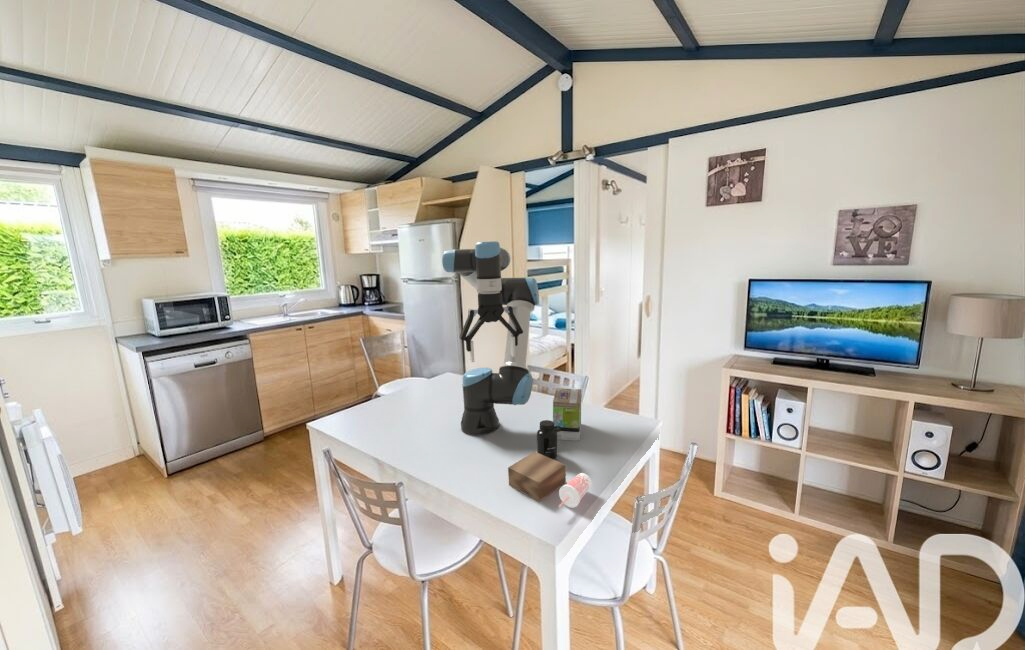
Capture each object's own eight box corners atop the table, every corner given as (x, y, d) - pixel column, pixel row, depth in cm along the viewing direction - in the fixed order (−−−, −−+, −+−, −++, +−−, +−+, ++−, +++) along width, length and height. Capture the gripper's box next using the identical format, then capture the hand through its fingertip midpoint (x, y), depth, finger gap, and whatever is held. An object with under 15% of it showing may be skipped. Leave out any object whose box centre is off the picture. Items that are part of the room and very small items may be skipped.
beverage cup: (572, 469, 114) (547, 493, 103) (591, 471, 110) (567, 497, 99) (576, 489, 114) (551, 515, 104) (595, 492, 111) (571, 520, 100)
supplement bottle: (552, 463, 127) (551, 429, 125) (533, 458, 131) (532, 425, 129) (561, 454, 133) (560, 421, 131) (543, 449, 137) (542, 417, 134)
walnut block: (508, 485, 117) (508, 467, 116) (535, 468, 125) (534, 451, 124) (540, 502, 109) (539, 482, 108) (565, 483, 117) (565, 464, 116)
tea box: (580, 441, 141) (580, 402, 138) (552, 439, 143) (551, 401, 141) (581, 423, 156) (581, 388, 153) (556, 422, 158) (555, 387, 155)
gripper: (451, 296, 114) (456, 366, 118) (531, 290, 122) (533, 356, 126) (447, 294, 121) (452, 360, 125) (523, 288, 129) (525, 351, 133)
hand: (493, 358), depth 126 cm, fingers open, 13 cm apart
